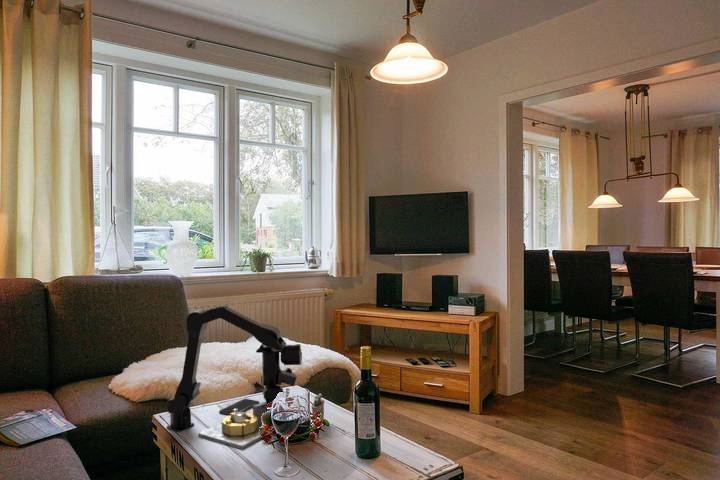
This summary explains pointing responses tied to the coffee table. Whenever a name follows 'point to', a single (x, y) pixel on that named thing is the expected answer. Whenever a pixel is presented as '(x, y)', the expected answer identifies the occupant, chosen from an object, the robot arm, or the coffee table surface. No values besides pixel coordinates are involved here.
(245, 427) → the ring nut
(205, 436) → the grey base plate
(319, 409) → the lighter
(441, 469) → the coffee table surface
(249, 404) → the phone
